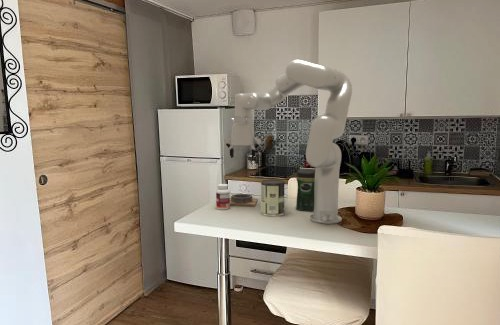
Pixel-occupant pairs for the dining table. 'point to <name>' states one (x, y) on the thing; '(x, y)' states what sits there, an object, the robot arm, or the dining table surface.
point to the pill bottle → (222, 197)
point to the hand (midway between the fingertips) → (242, 157)
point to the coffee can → (272, 197)
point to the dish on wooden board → (243, 200)
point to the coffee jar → (305, 189)
